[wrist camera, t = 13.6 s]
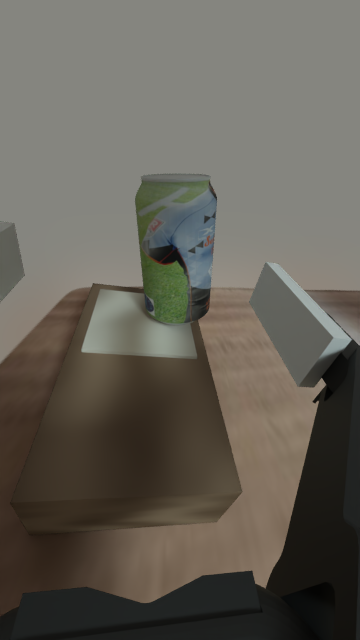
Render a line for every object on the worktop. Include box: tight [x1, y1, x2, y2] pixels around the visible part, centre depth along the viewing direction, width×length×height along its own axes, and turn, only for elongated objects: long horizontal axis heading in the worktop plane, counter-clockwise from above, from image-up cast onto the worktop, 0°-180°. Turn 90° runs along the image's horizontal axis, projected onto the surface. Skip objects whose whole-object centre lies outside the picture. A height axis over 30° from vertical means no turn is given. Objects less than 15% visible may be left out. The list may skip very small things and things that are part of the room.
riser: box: [10, 283, 242, 535], centre depth 21 cm, size 11×20×5 cm, turn 6°
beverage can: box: [135, 174, 217, 325], centre depth 21 cm, size 6×7×12 cm
